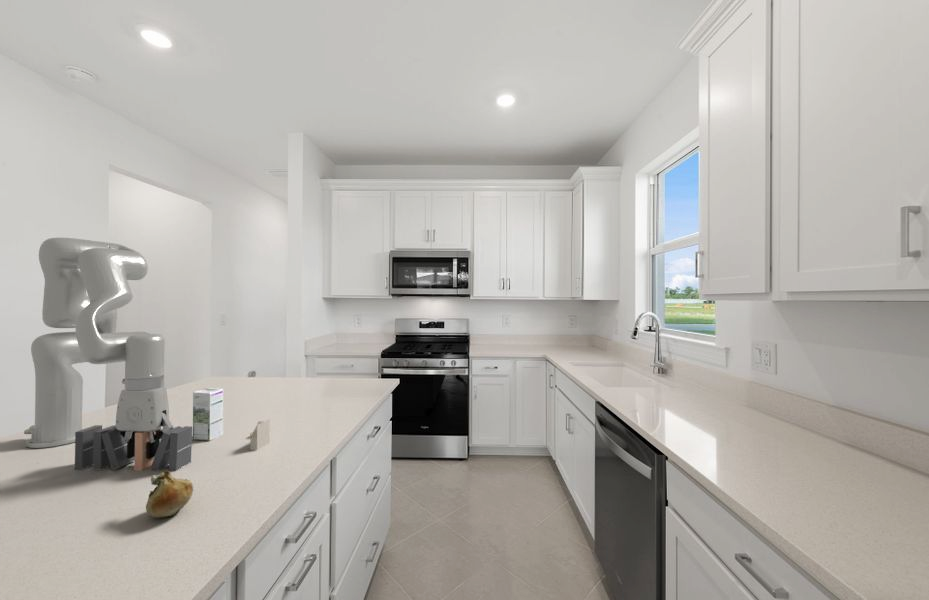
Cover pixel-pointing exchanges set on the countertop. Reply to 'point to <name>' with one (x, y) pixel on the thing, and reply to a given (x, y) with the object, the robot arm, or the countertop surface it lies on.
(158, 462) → the domino
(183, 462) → the domino
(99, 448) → the domino
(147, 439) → the domino
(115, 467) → the domino
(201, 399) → the syrup box
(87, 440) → the domino
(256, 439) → the architectural model
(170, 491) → the onion
